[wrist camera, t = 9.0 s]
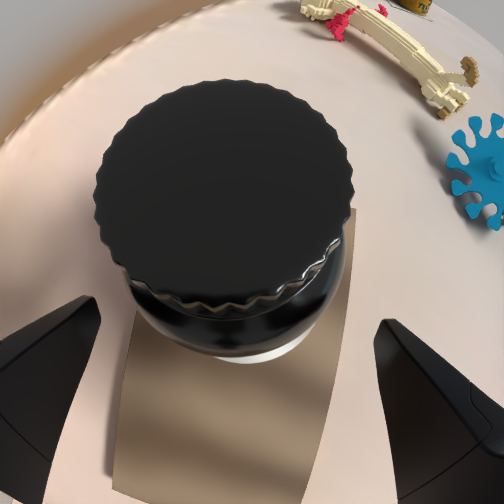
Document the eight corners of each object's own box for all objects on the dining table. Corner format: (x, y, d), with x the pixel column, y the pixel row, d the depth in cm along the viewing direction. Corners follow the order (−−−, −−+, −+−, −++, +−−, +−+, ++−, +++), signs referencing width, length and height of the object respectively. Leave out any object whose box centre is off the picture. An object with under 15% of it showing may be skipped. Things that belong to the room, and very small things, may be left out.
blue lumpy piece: (426, 134, 19) (513, 96, 13) (433, 150, 24) (506, 118, 17) (474, 260, 18) (566, 222, 11) (471, 254, 22) (548, 222, 16)
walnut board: (288, 521, 13) (291, 532, 11) (118, 482, 13) (110, 490, 12) (350, 216, 19) (357, 207, 18) (179, 186, 20) (174, 176, 18)
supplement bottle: (202, 363, 15) (81, 419, 3) (167, 250, 17) (49, 114, 5) (319, 320, 16) (462, 277, 4) (275, 213, 17) (304, 34, 6)
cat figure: (460, 111, 25) (326, -1, 29) (498, 70, 16) (338, -45, 20) (425, 135, 23) (273, 7, 27) (471, 83, 15) (280, -45, 19)
